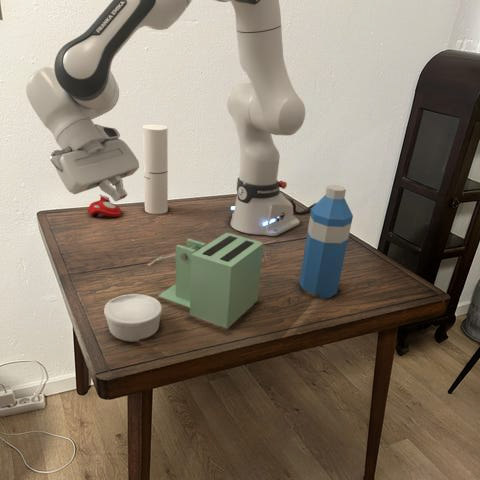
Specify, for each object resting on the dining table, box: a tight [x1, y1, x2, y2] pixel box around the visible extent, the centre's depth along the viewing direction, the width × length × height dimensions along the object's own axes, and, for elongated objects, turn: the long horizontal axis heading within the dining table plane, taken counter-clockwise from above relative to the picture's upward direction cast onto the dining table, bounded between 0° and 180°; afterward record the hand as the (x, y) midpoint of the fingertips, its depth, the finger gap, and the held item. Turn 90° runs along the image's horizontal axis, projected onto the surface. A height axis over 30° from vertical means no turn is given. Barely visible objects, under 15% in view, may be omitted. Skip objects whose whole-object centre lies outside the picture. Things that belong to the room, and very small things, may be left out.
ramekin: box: [103, 293, 163, 343], centre depth 98 cm, size 11×11×5 cm
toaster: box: [188, 232, 265, 330], centre depth 104 cm, size 9×14×15 cm, turn 152°
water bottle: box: [298, 184, 354, 299], centre depth 113 cm, size 9×9×25 cm
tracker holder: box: [87, 194, 122, 218], centre depth 150 cm, size 12×4×10 cm
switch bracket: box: [157, 238, 207, 309], centre depth 108 cm, size 11×9×13 cm
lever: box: [146, 244, 199, 269], centre depth 108 cm, size 12×5×2 cm, turn 61°
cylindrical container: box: [141, 123, 169, 215], centre depth 149 cm, size 7×7×25 cm
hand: (121, 198), depth 107 cm, fingers closed
